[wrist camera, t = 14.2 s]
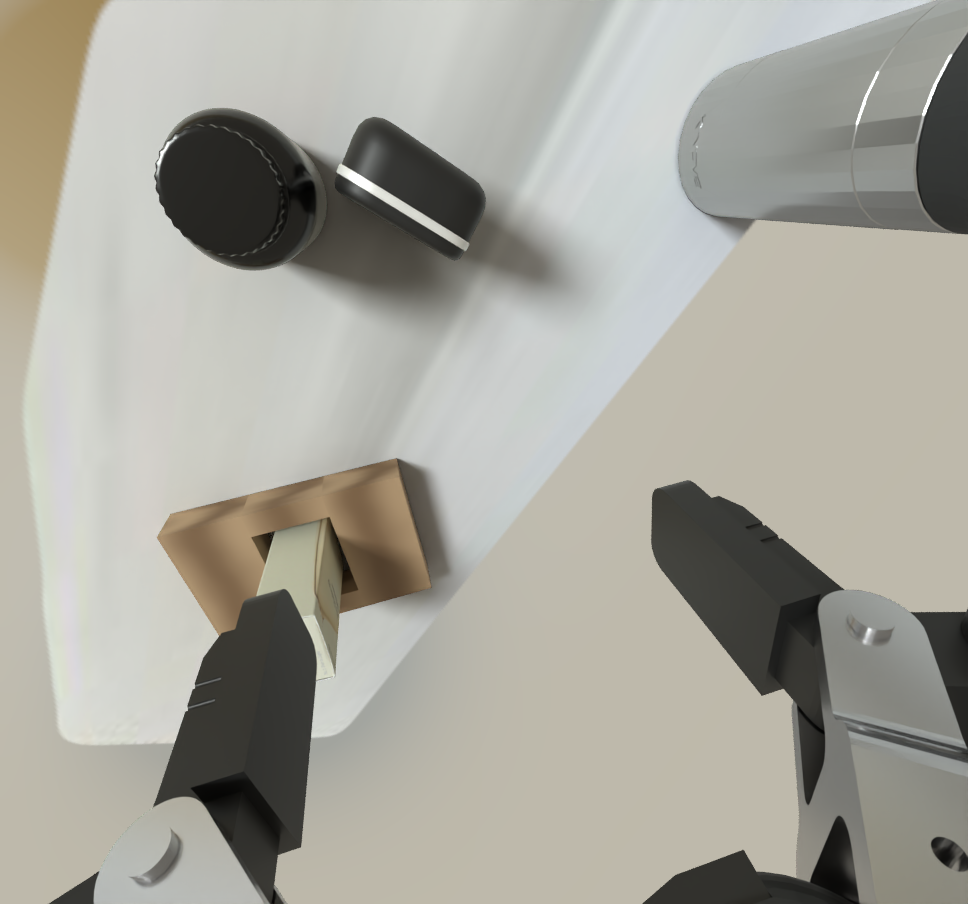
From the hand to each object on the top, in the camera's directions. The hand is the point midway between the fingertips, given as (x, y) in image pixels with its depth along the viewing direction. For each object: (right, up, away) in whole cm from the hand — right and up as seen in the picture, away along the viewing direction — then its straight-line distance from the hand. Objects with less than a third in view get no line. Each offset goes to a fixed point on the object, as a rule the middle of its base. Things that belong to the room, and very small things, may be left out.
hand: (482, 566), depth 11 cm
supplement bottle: (-13, +18, +20) cm, 30 cm away
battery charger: (-5, +20, +21) cm, 29 cm away
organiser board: (-15, -5, +32) cm, 35 cm away
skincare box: (-15, -5, +32) cm, 36 cm away
